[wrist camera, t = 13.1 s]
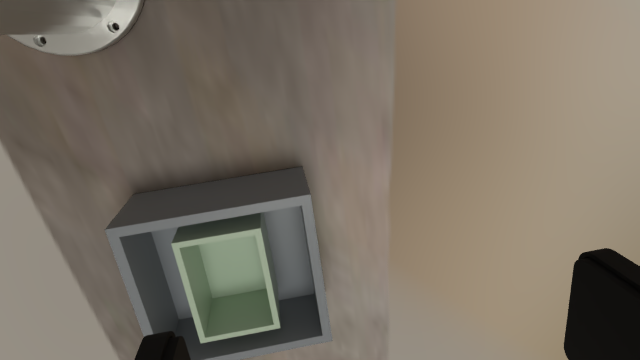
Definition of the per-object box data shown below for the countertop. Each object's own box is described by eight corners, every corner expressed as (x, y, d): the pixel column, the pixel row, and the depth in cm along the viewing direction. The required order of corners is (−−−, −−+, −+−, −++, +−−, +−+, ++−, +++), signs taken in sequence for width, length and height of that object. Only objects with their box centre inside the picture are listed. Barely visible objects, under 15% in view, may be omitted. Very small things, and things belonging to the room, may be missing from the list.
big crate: (133, 194, 36) (104, 229, 30) (302, 166, 37) (310, 194, 31) (174, 322, 41) (158, 376, 35) (321, 293, 43) (332, 340, 36)
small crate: (209, 300, 40) (200, 343, 35) (185, 211, 37) (171, 243, 31) (278, 287, 41) (280, 328, 35) (260, 199, 37) (260, 228, 32)
